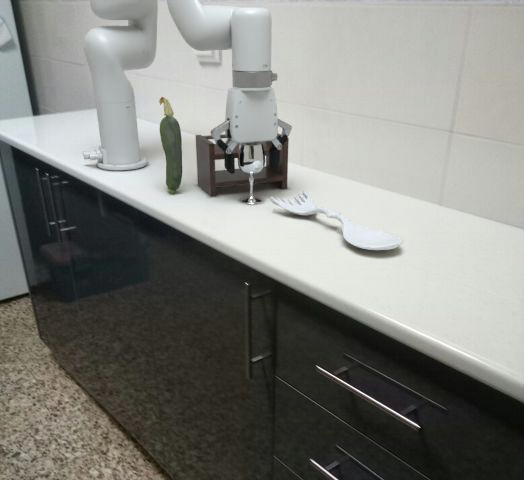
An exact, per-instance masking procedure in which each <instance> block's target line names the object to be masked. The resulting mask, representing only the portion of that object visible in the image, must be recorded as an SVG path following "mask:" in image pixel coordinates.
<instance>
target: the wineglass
mask: <svg viewBox="0 0 524 480" xmlns="http://www.w3.org/2000/svg"><path fill="white" fill-rule="evenodd" d="M236 159H237V161H236V162H237V166H238V169H240V170H241V171H242V172H243V173H245V174H248V175H250V177H249V182H250V184H249V196H248V197H244V198H241V199H240V203H243V204H245V205H256V204H261V203H262V199H261V198H259V197H255V196H254V195H253V194H254V193H253V186H254V183H253V182H254V178H253V175H255V174H258V173H260V172H261V171H262V170H263V168H264V166H266V156H265V152H264V147H263V143H262V142H253V143H240V146H239V150H238V158H236Z"/></svg>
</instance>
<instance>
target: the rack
mask: <svg viewBox="0 0 524 480" xmlns="http://www.w3.org/2000/svg"><path fill="white" fill-rule="evenodd" d="M281 134H282V133H278V134H277V137H276V138H278V137H279V136H280V135H281ZM194 137H195V156H196V176H197V186H198V187H199V188H200V189H201V190H203V191H204V192H205V193H206V194H207V195H208V196H210V198H211V197H217V188H222V187H230V186H231V187H232V186H233V187H234V186H241V185H250V182H249V177H250V175H248V174H245V173H243V172H242V171H241V170H240V169H239V168H235V173H234V174H231V173H229V172H228V171H227V169H219V170H216V161H221V160H224V151H223V150H222V149H221V148H220V147H219V146H218V145H217V144H216V143H215V142H212V141H211V140H214V139H213V137H212V135H211V134H209V135H201V134H195V136H194ZM220 137H221V139H227V138H226V135H225V133H224V134H223V133H222V134H220ZM289 141H290V139H289V137H288V139H287V141H286V142H285V143H284V144H283V146H282V149H280V163H279V164H278V169H277V170H275V169H273V168H271V167H270V166H269V149H270V147H271V144H270V143H269V141H265V142H262V143H263V147H264V152H265V166H264V168H263V170H262V171H261V172H260V173H258V174H255V175H253V178H254V182H253V184H262V183H272V184H273V185H275V186H277V187H278V188H280V189H281V190H288V169H289ZM239 146H240V143H238V144H237V145H236V147H235V148H234V149H233V151H232V153H233V154H234V158H235V159H238V150H239Z"/></svg>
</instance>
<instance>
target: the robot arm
mask: <svg viewBox="0 0 524 480" xmlns="http://www.w3.org/2000/svg"><path fill="white" fill-rule="evenodd" d="M158 2H159V1H158V0H89V4H90V8H91V11H92V13H93V14H94V15H95V16H96V17H97V18H99V19H101V20H107V21H127V25H101V26H95V27H93V28H91V29H90V30H88V31H87V32H86V34H85V36H84V39H83V50H84V55H85V59H86V62H87V65H88V68H89V72H90V76H91V81H92V88H93V93H94V101H95V107H96V117H97V124H98V125H97V126H98V132H99V133H98V134H99V141H100V145H99V146H98V148H96V149H94V150H92V151H91V150H84V151H82V156H83V159H84V160H90V161H95V160H96V165H97V167H98V168H99V169H101V170H106V171H131V170H137V169H142V168H143V167H145V166H147V164H148V161H147V158H145V157H144V156H141V151H140V149H141V148H140V139H139V138H140V137H139V129H138V119H137V118H138V117H137V107H136V100H135V99H136V97H135V91H134V88H133V85H132V83H131V82H130V80H129V78H128V76H127V75H126V73H125V71H133V70H143V69H147V68H149V67H150V66H151V65H152V64H153V63H154V62H155V58H156V56H157V55H156V54H157V42H158V41H157V40H158V39H157V38H158V13H159V12H158V11H159V10H158V8H159V7H158V5H159V3H158ZM166 4H167V9H168V12H169V14H170V16H171V19H172V20H173V22H174V25H175V27H176V29H177V30H178V32H179V34H180V36H181V37H182V38H183V40H184V41H185V42H186V44H187V45H188V46H189V47H190V48H192V49H194V50H195V51H199V52H207V51H208V52H209V51H227V50H228V51H229V50H230V51H231V69H232V70H231V71H232V74H231V75H232V77H231V78H232V87H229V88H228V90H227V94H226V95H227V96H226V103H225V115H224V116H225V118H224V119H225V120H224V121H223V122H221V123H220V124H219V125H217V126H215V127H214V128H212V129H211V130H210V135H212V137H213V139H212V140H213V141H214V144H217V145H218V146H219V147H220V148H221V149H222V150H223V151H224V159H223V160H224V161H223V163H224V170H227V171H228V172H229V173H231V174H234V173H235V169H236V164H235V163H236V162H235V159H236V158H234V154H233V153H232V151H233V149H234V148H235V147H236V145H237V144H238V143H253V142H265V141H269V143H270V144H271V147H270V149H269V166H270V167H271V168H273V169H275V170H277V169H278V164H279V163H280V149H282V146H283V144H284V143H285V142H286V141H287V139H288V138H289V136H290V134H291V132H292V129H293V126H292V125H291V124H289V123H287V122H285V121H284V120H282V119H280V118H278V107H277V106H278V105H277V99H276V92H275V88H274V87H272V86H273V82H275V81H278V73H274V72H273V69H272V13H271V11H270V9H268V8H266V7H260V6H236V5H207V4H206V5H203V4H202V3H201V2H200V0H166ZM279 128H281V129H282V130H281V133H280V134H281V135H280V136H279V137H278V138H276V137H277V134H279V133H278V132H279ZM223 133H224V134H225V135H226V138H225V139H226V140H225V141H224V140H223V138H221V137H220V135H222V134H223Z"/></svg>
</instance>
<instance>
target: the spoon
mask: <svg viewBox="0 0 524 480" xmlns="http://www.w3.org/2000/svg"><path fill="white" fill-rule="evenodd" d="M293 198H294V199H292V198H290V197H288V198H287V200H286V199H284V198H282V197H281V199H280V198H279V197H276V198H275V197H273V196H270V197H269V199H270V202H271V203H272V204H274V205H276V206H278V207H280V208H282V209H284V210H286V211H287V212H290V213H291V214H294V215H299V216H311V215H315V214H324V215H325V216H326V217H327V219H335V220H337V221H339V222H340V223H341V225H342V237H343V238H344V240H345V241H346V242H347V243H348V244H350V245H351V246H354V247H356V248H358V249H363V250H368V251H388V250H393V249H396V248H399V247H400V246H402V245H403V243H404V239H402V238H401V237H399V236H397V235H394V234H391V233H388V232H385V231H382V230H379V229H376V228H372V227H369V226H365V225H363V224H360V223H357V222H354V221H351V220H350V219H348V218H346V217H345V216H344V215H342V213H341V212H340V211H336V210H332V209H329V208H328V207H323V206H322V207H321V206H319V207H318V206H317V204H316V203H315V201H314V200H313V199H312V197H311V196H310V195H309V193H308V192H307V191H305V190H302V194H300V193H298V196H296V195H294V196H293Z"/></svg>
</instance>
